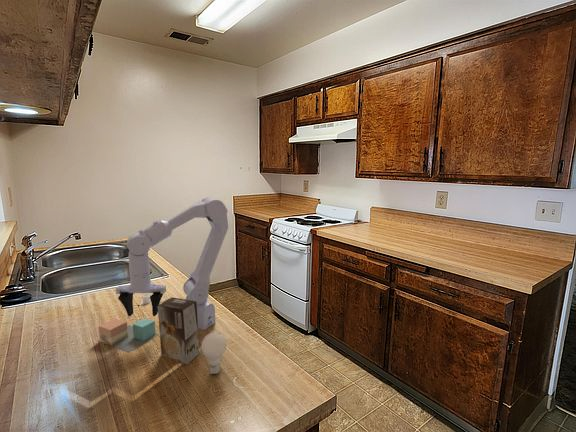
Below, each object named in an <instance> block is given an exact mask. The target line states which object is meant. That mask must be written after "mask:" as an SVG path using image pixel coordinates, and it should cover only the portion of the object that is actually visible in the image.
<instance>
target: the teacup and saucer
mask: <svg viewBox="0 0 576 432" xmlns="http://www.w3.org/2000/svg"><path fill="white" fill-rule="evenodd" d="M151 295H152V294H151V293H144V294H143V295H142V296H140V297H139V298H138V299H139V303H140V302H141V304H143V305H147V304H149V303H151V300H150V296H151ZM141 299H142V300H141ZM142 301H143V303H142ZM161 302H162V299H161V300H160V303H161Z"/></svg>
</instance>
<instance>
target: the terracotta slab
mask: <svg viewBox="0 0 576 432" xmlns="http://www.w3.org/2000/svg"><path fill="white" fill-rule="evenodd" d="M127 322H128V321H124V320H122V319H118V318H112V319H111V320H108V321H107V322H104V323H102V324H100V325H98V334H102V335H105V336H107V337H110V338H112V337H114V336H116V335H117V334H119V333H121V332H123V331H125V330H127V326H128V323H127Z"/></svg>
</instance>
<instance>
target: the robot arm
mask: <svg viewBox="0 0 576 432" xmlns="http://www.w3.org/2000/svg"><path fill="white" fill-rule="evenodd" d="M195 218H202V219H207V221H208V224H209V225H210V227H211V228H210V232H209V233H208V236H207V239H206V242H205V243H204V246H203V249H202V250H201V251H202V252H201V254H200V257H199V259H198V262H197V264H196V267H195V269H194V270H193V271H192V272H191V273H190V276H189V278H188V279H187V280H186V281H185V282H184V283H183V286H182V289H183V292H184V294H185V295H186V298H184V299H185V300H192V301H197V319H198V330H202V331H205V330H206V329H208V328H209V327H211V326H212V325H214V324H215V323H216V307H215V304H213V302H210V301H209V300H208V299H209V294H210V291H209V289H210V286H211V280H210V279H211V278H210V276H211V273H212V271H213V269H214V266H215V263H216V260H217V258H218V256H219V253H220V250H221V247H222V245H223V242H224V240H225V237H226V235H227V233H228V230H229V221H228V208H227V207H226V206H225V204H224V202H223V201H222V200H220V199H215V198H211V197H205V198H202V199H201V200H199V201H196V202H195V203H194V202H193V204H191V205H190V206H188V207H187V208H185V209H184V210H182V211H180V212H179V213H177V214H176V215H174V216H172V217H171V218H169V219H168V220H162V219H160V220H158V221H157V220H154V221H152V224H151V225H150V226H147V227H146V228H144V229H143V230H142V229H140V230H138V233H134V234H131V235H130V236H129V237H128V238H127V240H126V243H125V245H126V248H127V249H128V270H129V272H128V273H129V282H130V284H126V285H118V286H117V287H116V288H115V294H116V295H119V296H118V297H117V299H118V301H119V302H120V303H121V304H122V305H123V307H124V309H125V312H126V313H127V316H128V317H131V316H132V315H134V294H150V295H151V296H150V300H151V302H150V303H151V311H152V313H151V314H152V317H156V316H158V305H159V304H161V302H160V300H161V301H162V297H163V295H164V294H165V293H166V292H167V291H166V290H167V287H166V285H160V284H154V283H152V279H151V268H150V267H151V266H150V257H149V251H150V249H151V247H154V246H155V245H158V244H159V243H161V242H162V241H164V240H166V239H168V238H169V237H171V235H172V232H173V230H174V229H176V228H179V227H181V226H182V225H185V224H186V223H188V222H189V221H191V220H194V219H195Z"/></svg>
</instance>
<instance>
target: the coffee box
mask: <svg viewBox="0 0 576 432" xmlns="http://www.w3.org/2000/svg"><path fill="white" fill-rule="evenodd" d="M185 299H186V298H177V297H173V296H172V297H170V298H168V299H165V300H164V301H161V302H162V303H161V302H160V303H159V305H158V314H157V316H158V318H157V319H158V329H159V339H160V340H159V341H160V352H161V354H160V356H163V357H166V358H170V359H173V360H178V361H179V362H178V363H179V364H184V365H188V364H189V363H190V362H192V361H193V360H194V359H195V358H196V357H197V356H199V354H200V353H201V352H200V341H199V340H200V338H199V329H198V319H197V301H192V300H185Z"/></svg>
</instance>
